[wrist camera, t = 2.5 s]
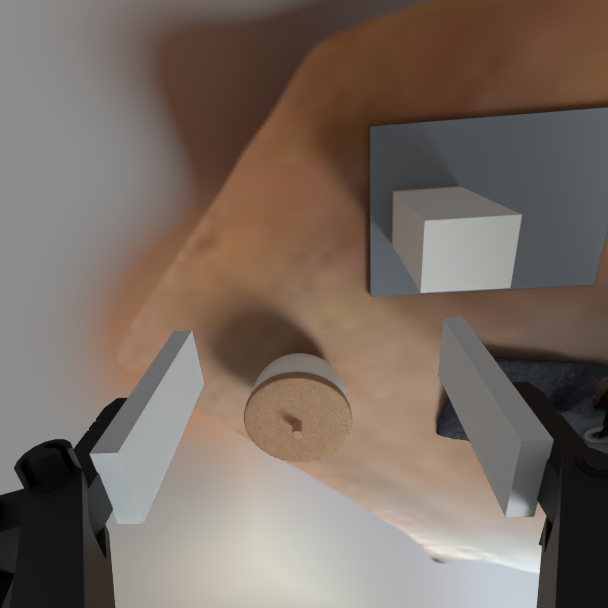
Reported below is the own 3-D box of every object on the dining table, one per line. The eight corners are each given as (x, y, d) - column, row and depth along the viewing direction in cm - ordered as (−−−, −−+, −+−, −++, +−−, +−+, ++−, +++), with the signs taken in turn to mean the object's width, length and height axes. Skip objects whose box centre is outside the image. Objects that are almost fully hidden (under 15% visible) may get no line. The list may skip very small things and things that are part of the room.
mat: (589, 282, 39) (593, 284, 39) (370, 294, 41) (370, 296, 40) (634, 105, 33) (639, 104, 32) (369, 126, 34) (370, 126, 34)
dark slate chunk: (473, 329, 43) (491, 352, 38) (659, 369, 44) (696, 396, 40) (425, 433, 49) (435, 463, 45) (589, 465, 50) (614, 497, 46)
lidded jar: (349, 337, 43) (357, 390, 35) (345, 414, 48) (350, 477, 39) (252, 335, 43) (236, 387, 35) (257, 411, 48) (244, 474, 39)
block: (454, 239, 37) (510, 288, 27) (391, 243, 38) (420, 292, 27) (459, 185, 35) (522, 214, 24) (392, 190, 36) (424, 220, 25)
